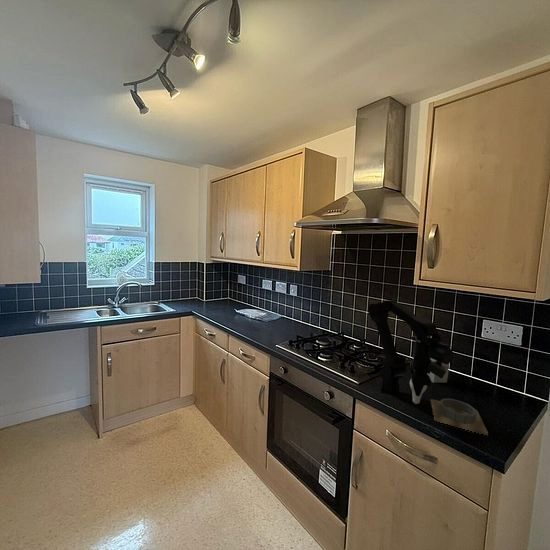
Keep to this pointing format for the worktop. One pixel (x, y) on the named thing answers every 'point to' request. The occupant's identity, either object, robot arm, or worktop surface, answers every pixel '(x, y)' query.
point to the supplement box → (435, 378)
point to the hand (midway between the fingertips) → (417, 392)
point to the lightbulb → (415, 398)
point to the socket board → (458, 415)
